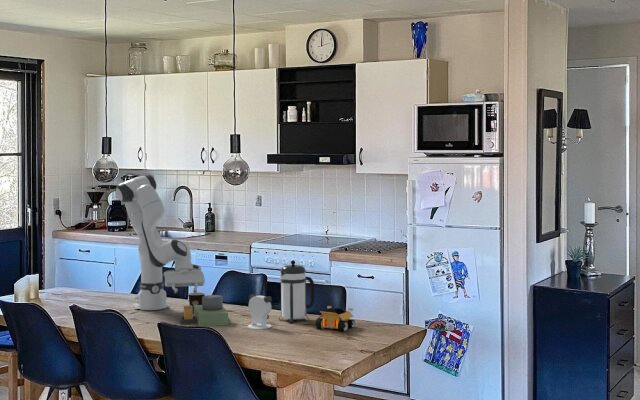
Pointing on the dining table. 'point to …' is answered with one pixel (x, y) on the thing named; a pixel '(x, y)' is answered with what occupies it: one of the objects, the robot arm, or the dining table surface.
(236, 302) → the dining table surface
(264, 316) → the panda figurine
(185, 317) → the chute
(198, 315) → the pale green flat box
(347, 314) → the yellow toy truck
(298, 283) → the coffee press
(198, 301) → the coffee mug
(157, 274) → the robot arm
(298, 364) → the dining table surface
